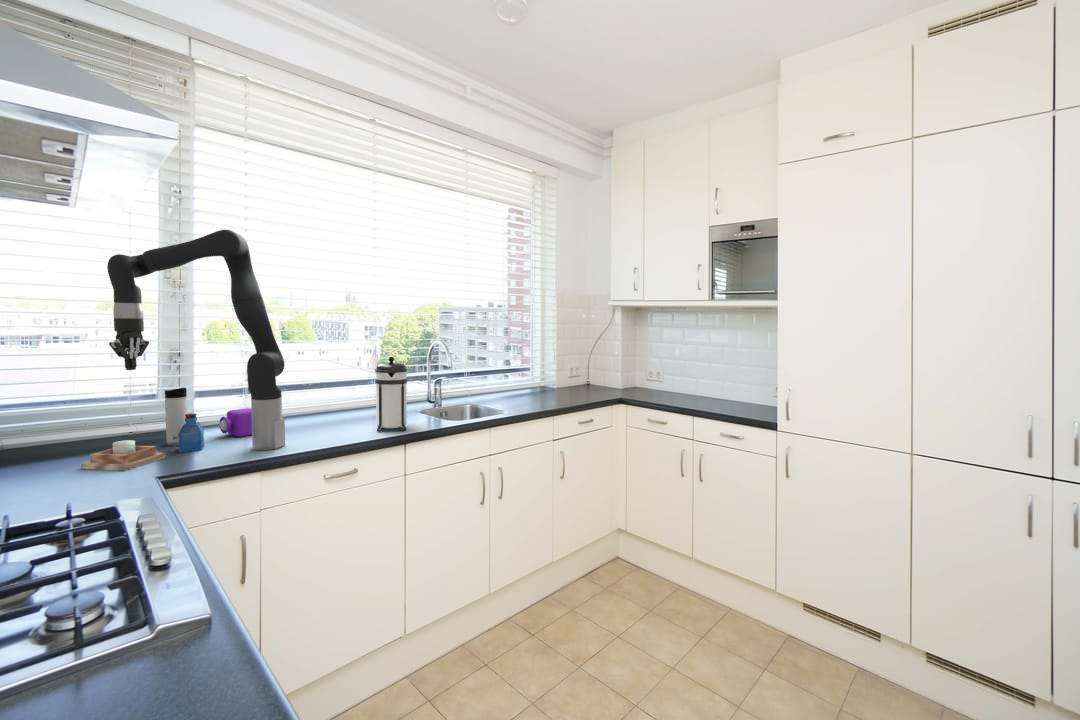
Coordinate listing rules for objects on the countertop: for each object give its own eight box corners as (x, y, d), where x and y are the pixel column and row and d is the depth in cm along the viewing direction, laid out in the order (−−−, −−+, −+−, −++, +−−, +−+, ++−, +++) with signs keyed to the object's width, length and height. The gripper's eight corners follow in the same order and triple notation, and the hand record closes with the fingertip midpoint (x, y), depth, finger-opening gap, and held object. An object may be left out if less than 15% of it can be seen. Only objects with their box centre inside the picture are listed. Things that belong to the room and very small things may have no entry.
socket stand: (165, 457, 158) (164, 445, 158) (125, 470, 144) (125, 457, 144) (124, 456, 159) (123, 443, 159) (80, 468, 145) (80, 455, 145)
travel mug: (177, 446, 172) (175, 389, 171) (162, 445, 174) (159, 388, 172) (193, 442, 178) (191, 386, 177) (178, 441, 180) (176, 386, 178)
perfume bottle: (179, 452, 165) (177, 416, 164) (182, 448, 171) (181, 413, 170) (201, 450, 168) (200, 415, 167) (204, 446, 173) (203, 412, 173)
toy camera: (213, 437, 187) (212, 410, 186) (247, 430, 199) (246, 405, 198) (233, 440, 182) (232, 413, 182) (266, 432, 195) (265, 407, 194)
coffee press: (419, 428, 209) (419, 356, 207) (389, 434, 195) (389, 358, 193) (391, 422, 218) (391, 354, 216) (360, 429, 205) (360, 356, 202)
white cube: (140, 456, 154) (139, 440, 154) (124, 461, 149) (124, 444, 149) (124, 455, 155) (123, 439, 154) (108, 460, 149) (107, 443, 149)
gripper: (121, 317, 156) (123, 372, 158) (156, 317, 169) (158, 368, 171) (98, 316, 157) (101, 371, 158) (135, 317, 170) (137, 367, 171)
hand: (131, 369), depth 164 cm, fingers closed
